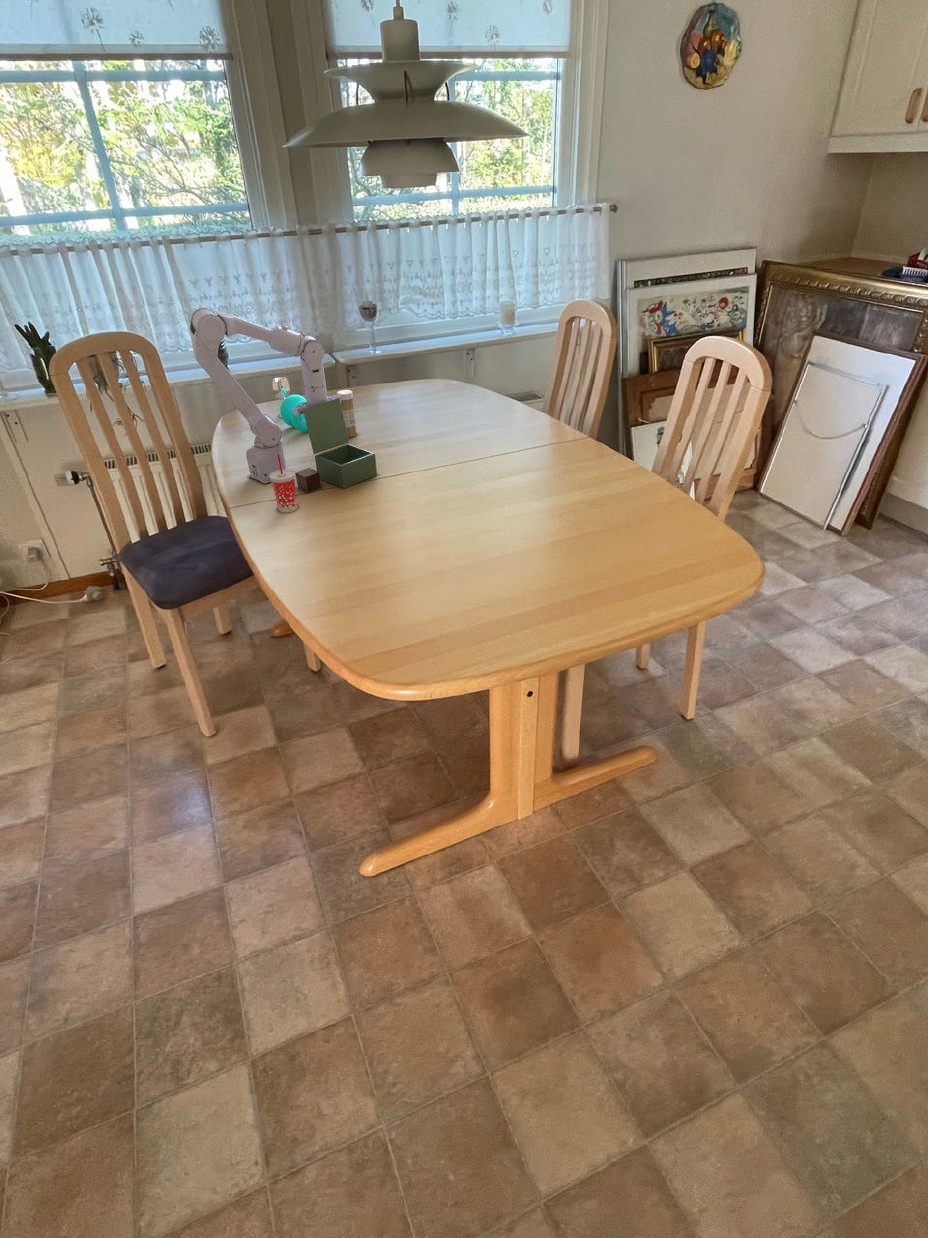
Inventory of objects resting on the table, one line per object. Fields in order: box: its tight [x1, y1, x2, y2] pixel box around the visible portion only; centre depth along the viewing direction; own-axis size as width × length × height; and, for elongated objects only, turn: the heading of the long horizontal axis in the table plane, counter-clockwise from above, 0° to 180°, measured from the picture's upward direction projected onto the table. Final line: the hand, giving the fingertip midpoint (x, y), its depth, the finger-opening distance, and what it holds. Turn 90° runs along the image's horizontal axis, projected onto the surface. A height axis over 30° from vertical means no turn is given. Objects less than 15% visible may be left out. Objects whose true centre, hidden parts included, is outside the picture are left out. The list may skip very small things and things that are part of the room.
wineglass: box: [271, 376, 292, 418], centre depth 228 cm, size 6×6×12 cm
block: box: [295, 467, 322, 494], centre depth 181 cm, size 4×4×4 cm
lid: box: [302, 398, 350, 455], centre depth 185 cm, size 12×12×1 cm
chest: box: [314, 443, 378, 489], centre depth 187 cm, size 11×12×6 cm
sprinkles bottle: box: [336, 389, 358, 438], centre depth 211 cm, size 5×5×14 cm
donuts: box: [279, 394, 308, 433], centre depth 217 cm, size 10×10×10 cm
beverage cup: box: [269, 454, 298, 513], centre depth 169 cm, size 6×6×14 cm
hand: (321, 434), depth 191 cm, fingers closed
